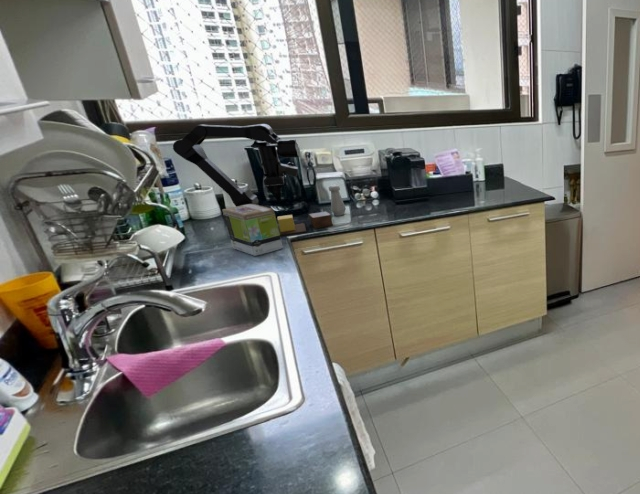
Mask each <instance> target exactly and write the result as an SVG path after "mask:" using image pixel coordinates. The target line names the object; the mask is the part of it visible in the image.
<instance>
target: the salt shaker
mask: <svg viewBox="0 0 640 494" xmlns="http://www.w3.org/2000/svg"><path fill="white" fill-rule="evenodd" d="M340 190H341V187H340V185H338V184H330V185H328V191H329V192H330V211H331V213H332V214H333V215H334V216H340V217H341V216H344V215H345V213H346V209H347V208H346V205H345V203H344V200H343V198H342V195H341V192H340Z"/></svg>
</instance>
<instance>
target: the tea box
mask: <svg viewBox="0 0 640 494" xmlns="http://www.w3.org/2000/svg"><path fill="white" fill-rule="evenodd" d="M221 211H222V214H223V218H224V221H225V225H226V228H227V233H228V235H229V239H230V242H231V245H232V248H233V250H238V251H240V252H243V253H246V254H249V255H251V256H254V257H256V256H261V255H264V254H268V253H271V252H275V251H278V250H281V249H283V248H284V247H283V241H282V237H281V236H280V233H279V230H278V227H279V224H278V220H277V218H276V213H275V210H274V208H271V207H267V206H263V205H255V204H247V205H242V206H237V207H236V206H233V207H227V208H223V209H221Z"/></svg>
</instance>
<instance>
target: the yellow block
mask: <svg viewBox="0 0 640 494" xmlns="http://www.w3.org/2000/svg"><path fill="white" fill-rule="evenodd" d="M276 219H277V224H278V227H280V231H281V232H284V231H291V230H296V229H295V225H294V224H295V221H294V217H293V214H287V215H286V214H285V215H279V216H277V218H276Z"/></svg>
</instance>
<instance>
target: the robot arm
mask: <svg viewBox="0 0 640 494" xmlns="http://www.w3.org/2000/svg"><path fill="white" fill-rule="evenodd" d="M208 137H218V138H219V137H220V138H222V137H223V138H244V139H248V140H251V141H252V140H253V143H252V144H251V145H250V147H251V148H257V151H258V154H259V157H260V161H261V163H260V164H261V166H262V169H263V175H264V177H263V184H264V186H265V188H267V190H268V191H269V192H270V193H271V195H272V196H273V197H274V199H275V200H276V201H277V202H281V201H282V187H284V185H285V180H284V179H285V175H287V176H288V175H289V176H292V177H296V178H297V176H298V170H299V167H298V166H295V164H294V162H290V161H289V162H287V163H282V162H281V160H280V159H279V157H281V158H283V159H290V158H300V157H301V149H300V146H299V144H298V142H297V140H296V138H292V139H282V138H281V137H279V136H278V134H276V133H275V132H274V129H273V128H272V127H271V126H270V125H269V124H267V123H258V124H251V125H243V126H242V125H241V126H240V125H216V124H205V123H204V124H203V123H202V124H198V125H196V126H195V127H194V128H193V129H191V131H190V132H189V133H187V134H186V135H185V136H184V137H183V138H180V139H177V140H175V142H173V144H172V150H173V152H174V153H175V154H176V155H178V156H180V157H181V158H182V159H184V160H186V161H187V162H190V163H192V164H194V165H195V166H197V168H199V169H200V170H201V171H202V172H203V173H204V174H205V175H206V176H208V177H209V179H211V181H213V182H214V183H215V184H216V185H217V186H219V188H221V190H223V191H224V192H225V193H226V194H227V195H228V196H229V197H230V200H231V201H232V204H233V205H234V207H237V206H242V205H247V204H255V205H259V204H260V201H259V199H258V195H256V194H255V193H253V191H252V190H251V189H250V188H247V189H246V190H245V189H243V188H241V187H240V186H238V185H237V183H235V182H234V180H232V179H231V177H229V176H228V175H227V174H226V173H225V172H224V171H222V169H220V168H219V167H218V166H217V165H216V164H215V163H214V162H213V161H212V160H211V159H210V158H209V157H208V156H207V154H206V152H205V150H204V148H203V147H202V146H201V144H203V142H204V141H205V140H206V139H207V138H208ZM259 206H260V205H259Z"/></svg>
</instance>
